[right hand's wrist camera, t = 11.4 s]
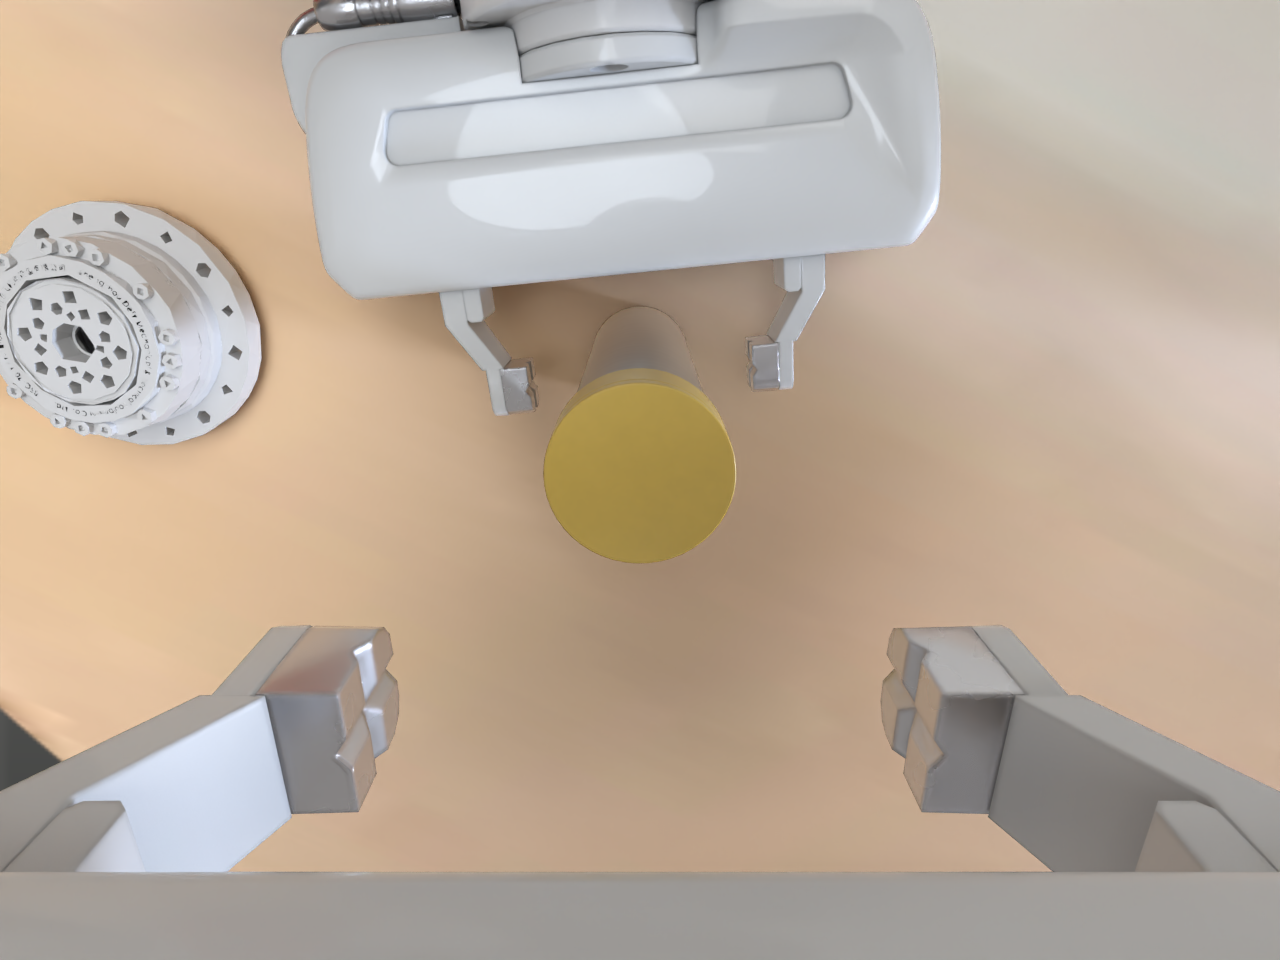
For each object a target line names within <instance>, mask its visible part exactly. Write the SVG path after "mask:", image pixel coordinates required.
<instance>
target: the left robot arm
mask: <svg viewBox="0 0 1280 960" xmlns="http://www.w3.org/2000/svg"><path fill="white" fill-rule="evenodd" d="M313 6H314V7H313V8H310V9H309V10H307V11H305V12H304V13H302V14H301V15H300V16H298V17H297V18H296V19H295V21H294V22H293V23H292V25H291V26H290V28H289V30H288V32H287V35H286V37H285V39H284V41H283V42H282V48H281V59H282V67H283V71H284V75H285V79H286V83H287V88H288V92H289V96H290V100H291V105H292V109H293V111H294V114H295V117H296V119H297V121H298V123H299V125H300V127H301V129H302V130H303V132H304V133H305V134H306V142H307V155H308V167H309V178H310V186H311V195H312V203H313V210H314V216H315V222H316V229H317V234H318V240H319V245H320V251H321V255H322V260H323V264H324V266H325V269H326V271H327V273H328V274H329V276H330V277H331V278H332V279H333V280H334V281H335V282H336V283H337V284H338V285H339V286H340V287H341V288H343V289H344V290H345V291H346V292H347V293H348V294H349V295H350V296H352V297H353V298H355V299H358V300H367V299H377V298H387V297H397V296H407V295H417V294H428V293H438V292H439V295H440V300H441V306H442V311H443V316H444V321H445V326H446V327H447V329H448V330H449V331H450V332H451V333H452V335H453V336H454V337H455V338H456V340H457V341H458V342H459V343H460V344H461V346H462V347H463V348H464V349H465V350H466V352H467V353H468V354H469V355H470V356H471V358H472V359H473V360H474V361H475V362H476V364H477V365H478V366H479V367H480V368H481V370H482V371H485V370H486V374H487V380H488V386H489V391H490V397H491V403H492V408H493V411H494V413H495V415H496V416H501V415H509V414H510V415H511V414H520V413H529V412H535V411H536V407H538V404H539V395H538V387H537V385H536V384H535V383H534V382H533V381H532V380H533V379H534V377H535V375H536V374H535V367H534V361H533V358H522V359H512V358H511V356H510V355H509V354H508V352H507V351H506V350H505V348H504V347H503V346H502V344H501V343H500V342H499V340H498V339H497V338H496V336H495V335H494V334H493V332H492V331H491V330H490V328H489V327H488V325H487V324H486V323H485V321H484V320H485V319H486V318H487V317H489V316H490V315H491V314H493V313H494V311H495V305H494V298H493V292H492V287H498V286H508V285H518V284H528V283H538V282H548V281H558V280H568V279H578V278H588V277H598V276H608V275H618V274H628V273H638V272H648V271H659V270H669V269H679V268H689V267H699V266H709V265H719V264H729V263H739V262H749V261H759V260H769V259H773V271H774V283H775V284H776V285H777V286H778V287H780V288H782V289H784V290H785V291H787V293H786V295H785V297H784V299H783V301H782V303H781V305H780V307H779V309H778V311H777V313H776V315H775V317H774V319H773V321H772V323H771V325H770V327H769V329H768V331H767V335H761V336H752V337H745V347H746V356H747V357H748V359H749V360H750V361H749V363H748V365H747V366H746V370H747V381H748V385H749V387H751V391H752V392H758V391H770V390H781V389H792V387H793V382H794V366H793V341H797V339H798V337H799V335H800V334H801V332H802V330H803V328H804V326H805V325H806V323H807V321H808V319H809V317H810V316H811V314H812V312H813V310H814V308H815V307H816V305H817V303H818V301H819V299H820V297H821V296H822V294H823V292H824V290H825V254H829V253H839V252H849V251H859V250H869V249H879V248H889V247H899V246H907V245H910V244H912V243H913V242H915V240H916V239H917V238H918V237H919V236H920V234H921V233H922V232H923V230H924V229H925V228H926V226H927V225H928V223H929V222H930V220H931V219H932V217H933V216H934V214H935V213H936V210H937V207H938V202H939V193H940V177H941V126H940V104H939V88H938V77H937V66H936V56H935V49H934V43H933V38H932V34H931V30H930V27H929V24H928V21H927V19H926V16H925V14H924V12H923V10H922V9H921V7H920V5H919V4H918V2H917V1H916V0H313ZM317 23H319V24H320V26H321V27H322V28H323V29H324V30H325V32H317V33H308V34H305V33H306V32H307V30H308V29H309V28H311V27H312V26H313V25H315V24H317ZM379 24H380V25H379ZM385 24H387V25H385ZM368 26H369V27H368Z"/></svg>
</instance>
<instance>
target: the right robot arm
mask: <svg viewBox="0 0 1280 960" xmlns="http://www.w3.org/2000/svg"><path fill="white" fill-rule="evenodd" d="M392 656H393V650H392V644H391V639H390V634H389V632H388V631H387V630H386V629H385V628H384V627H347V626H314V627H313V626H310V625H303V626H277V627H273V628H271V629H270V630H269V631H268V632H267V633H266V634H265V636H264V637H263V638H262V639H261V640H260V641H259V642H258V643H257V645H256V646H255V647H254V648H253V649H252V650H251V651H250V652H249V654H248V655H247V656H246V657H245V658H244V659H243V660H242V661H241V663H240V664H239V665H238V666H237V667H236V668H235V669H234V670H233V672H232V673H231V674H230V675H229V676H228V677H227V678H226V680H225V681H224V682H223V683H222V684H221V685H220V686H219V687H218V689H217V690H216V691H215V692H214V693H213V694H212V695H200V696H197V697H195V698H193V699H191V700H189V701H187V702H185V703H183V704H181V705H179V706H177V707H175V708H173V709H170V710H168V711H166V712H164V713H162V714H160V715H158V716H156V717H154V718H152V719H150V720H148V721H146V722H143V723H141V724H139V725H137V726H135V727H133V728H131V729H129V730H127V731H125V732H123V733H121V734H119V735H116V736H114V737H112V738H110V739H108V740H106V741H104V742H102V743H100V744H98V745H96V746H94V747H92V748H89V749H87V750H85V751H83V752H81V753H79V754H77V755H75V756H73V757H71V758H69V759H67V760H65V761H62V762H60V763H58V764H56V765H54V766H52V767H50V768H48V769H46V770H44V771H42V772H40V773H38V774H35V775H33V776H31V777H29V778H27V779H25V780H23V781H21V782H19V783H17V784H15V785H13V786H11V787H9V788H7V789H4V790H2V791H0V960H1280V792H1279V791H1277V790H1275V789H1273V788H1271V787H1269V786H1267V785H1265V784H1263V783H1261V782H1259V781H1256V780H1254V779H1252V778H1250V777H1248V776H1246V775H1244V774H1242V773H1240V772H1238V771H1236V770H1234V769H1232V768H1230V767H1227V766H1225V765H1223V764H1221V763H1219V762H1217V761H1215V760H1213V759H1211V758H1209V757H1207V756H1205V755H1203V754H1201V753H1198V752H1196V751H1194V750H1192V749H1190V748H1188V747H1186V746H1184V745H1182V744H1180V743H1178V742H1176V741H1174V740H1172V739H1170V738H1167V737H1165V736H1163V735H1161V734H1159V733H1157V732H1155V731H1153V730H1151V729H1149V728H1147V727H1145V726H1143V725H1141V724H1138V723H1136V722H1134V721H1132V720H1130V719H1128V718H1126V717H1124V716H1122V715H1120V714H1118V713H1116V712H1114V711H1112V710H1109V709H1107V708H1105V707H1103V706H1101V705H1099V704H1097V703H1095V702H1093V701H1091V700H1089V699H1087V698H1085V697H1083V696H1080V695H1068V694H1067V693H1066V692H1065V691H1064V690H1063V689H1062V687H1061V686H1060V685H1059V684H1058V683H1057V682H1056V681H1055V680H1054V678H1053V677H1052V676H1051V675H1050V674H1049V673H1048V672H1047V671H1046V669H1045V668H1044V667H1043V666H1042V665H1041V664H1040V663H1039V661H1038V660H1037V659H1036V658H1035V657H1034V656H1033V655H1032V654H1031V652H1030V651H1029V650H1028V649H1027V648H1026V647H1025V646H1024V645H1023V643H1022V642H1021V641H1020V640H1019V639H1018V638H1017V637H1016V636H1015V634H1014V633H1013V632H1012V631H1011V630H1010V629H1009V628H1007V627H1004V626H1002V625H990V626H965V627H931V628H894V629H893V631H892V633H891V635H890V638H889V643H888V649H887V656H888V657H889V659H890V661H891V663H892V665H893V667H894V670H893V671H892V672H891V673H890V674H889V675H888V676H887V677H886V678H885V679H884V680H883V684H882V693H881V712H882V722H883V726H884V730H885V734H886V737H887V739H888V741H889V743H890V746H891V748H892V750H894V751H895V752H897V753H898V754H900V755H901V756H902V757H904V758H905V766H904V772H903V774H904V776H905V778H906V780H907V782H908V784H909V786H910V789H911V791H912V793H913V795H914V797H915V799H916V801H917V803H918V805H919V808H920V810H921V812H937V813H972V814H989V815H988V817H989V818H990V819H991V820H992V821H993V822H995V823H996V824H997V825H998V826H999V827H1001V828H1002V829H1003V830H1004V831H1005V832H1007V833H1008V834H1009V835H1010V836H1011V837H1012V838H1014V839H1015V840H1016V841H1017V842H1018V843H1020V844H1021V845H1022V846H1023V847H1024V848H1026V849H1027V850H1028V851H1029V852H1030V853H1031V854H1033V855H1034V856H1035V857H1036V858H1037V859H1039V860H1040V861H1041V862H1042V863H1043V864H1045V865H1046V866H1047V867H1048V868H1049V869H1051V870H1052V871H1053V872H227V871H229V870H230V869H231V868H232V867H233V866H234V865H236V864H237V863H238V862H239V861H240V860H242V859H243V858H244V857H245V856H246V855H248V854H249V853H250V852H251V851H252V850H254V849H255V848H256V847H257V846H258V845H259V844H261V843H262V842H263V841H264V840H265V839H267V838H268V837H269V836H270V835H271V834H273V833H274V832H275V831H276V830H277V829H279V828H280V827H281V826H282V825H283V824H284V823H286V822H287V821H288V820H289V819H290V818H291V817H292V816H291V814H307V813H342V812H359V810H360V808H361V806H362V803H363V801H364V799H365V797H366V795H367V793H368V791H369V789H370V787H371V784H372V782H373V780H374V778H375V776H376V774H377V772H376V766H375V758H376V757H378V756H379V755H380V754H382V753H383V752H385V751H386V750H388V748H389V746H390V743H391V741H392V739H393V736H394V734H395V730H396V725H397V720H398V715H399V691H398V684H397V680H396V679H395V678H394V677H393V676H392V675H391V674H390V673H389V672H388V671H387V670H386V667H387V665H388V663H389V661H390V659H391V657H392Z"/></svg>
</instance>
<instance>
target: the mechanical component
mask: <svg viewBox="0 0 1280 960" xmlns="http://www.w3.org/2000/svg"><path fill="white" fill-rule="evenodd" d="M260 363H261V338H260V324H259V321H258V318H257V315H256V312H255V309H254V306H253V303H252V301H251V298H250V295H249V293H248V291H247V289H246V287H245V286H244V284H243V282H242V280H241V279H240V277H239V275H238V273H237V272H236V270H235V269H234V268H233V266H232V265H231V264H230V263H229V262H228V260H227V259H226V258H225V257H224V256H223V254H222V253H221V252H220V251H219V249H218V248H217V247H215V246H214V245H213V244H212V243H211V242H209V241H208V240H207V239H206V238H205V237H203V236H202V235H201V234H200V233H199V232H198V231H196V230H195V229H194V228H192V227H190V226H189V225H187V224H185V223H183V222H181V221H179V220H177V219H176V218H174V217H172V216H170V215H168V214H166V213H164V212H163V211H161V210H159V209H157V208H152V207H146V206H141V205H135V204H130V203H124V202H119V201H79V202H76V203H72V204H69V205H65V206H62V207H58V208H55V209H51V210H50V211H48V212H46V213H45V214H43V215H42V216H40V217H38V218H37V219H35V220H33V221H32V222H31V223H30V224H29V225H28V226H27V227H26V228H25V229H24V230H23V231H22V232H21V234H20V235H19V236H18V237H17V238H16V239H15V241H14V243H13V245H12V247H11V249H10V250H9V251H8V252H7V253H6V254H0V374H1V375H2V377H3V378H4V380H5V381H6V383H7V384H8V385H9V386H7V393H8V395H10V396H11V397H13V398H15V399H16V398H21V399H22V400H23V401H24V402H25V403H27V404H28V405H30V406H31V407H32V408H34V409H35V410H36V411H38V412H39V413H40V414H42V415H43V416H45V417H47V418H49V419H50V422H51V423H52V425H53V426H54V427H57V428H63V427H67V428H69V429H73V430H75V432H76V433H79V434H81V435H83V436H85V435H88V434H94V435H101V436H104V437H107V438H108V437H111V438H115V439H119V440H124V441H128V442H132V443H136V444H140V445H152V444H175V443H178V442H181V441H185V440H188V439H191V438H194V437H198V436H201V435H204V434H206V433H207V432H209V431H211V430H212V429H214V428H215V427H217V426H218V425H220V424H221V423H222V422H224V421H225V420H227V419H228V418H230V417H231V416H232V415H234V414H235V413H236V412H237V411H238V410H239V408H240V407H241V406H242V405H243V403H244V402H245V401H246V399H247V398H248V397H249V395H250V393H251V391H252V389H253V387H254V385H255V382H256V380H257V378H258V373H259V368H260Z"/></svg>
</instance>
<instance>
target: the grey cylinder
mask: <svg viewBox="0 0 1280 960" xmlns="http://www.w3.org/2000/svg"><path fill="white" fill-rule="evenodd" d="M630 368H647V369H656V370H660V371H665V372H668V373H671V374H674V375H676V376H679V377H681V378H682V379H684V380H686V381H688V382H690V383H691V384H692V385H694V386H695V387H697V388H698V389H699V390H700V391H701V392H702V393H703V391H702V388H701V385H700V382H699V379H698V376H697V373H696V370H695V367H694V364H693V361H692V358H691V355H690V352H689V349H688V346H687V344H686V341H685V338H684V335H683V333H682V331H681V329H680V328H679V326H678V325H677V324H676V322H675V321H674V320H673V319H672V318H671V317H669V316H668V315H667V314H665V313H663V312H661V311H660V310H657V309H654V308H650V307H644V306H635V307H629V308H626V309H623V310H621V311H619V312H617V313H615V314H613V315H612V316H611V317H610V318H608V319H607V320H606V321H605V322H604V324H603V325H602V326H601V328H600V329H599V331H598V333H597V335H596V338H595V341H594V344H593V347H592V350H591V353H590V356H589V359H588V362H587V364H586V367H585V370H584V373H583V376H582V379H581V382H580V385H579V388H578V391H580V390H581V389H582V388H583V387H584V386H586V385H587V384H589V383H590V382H592V381H594V380H595V379H597V378H599V377H601V376H604V375H606V374H608V373H612V372H615V371H618V370H624V369H630ZM578 391H577V392H578Z"/></svg>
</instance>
